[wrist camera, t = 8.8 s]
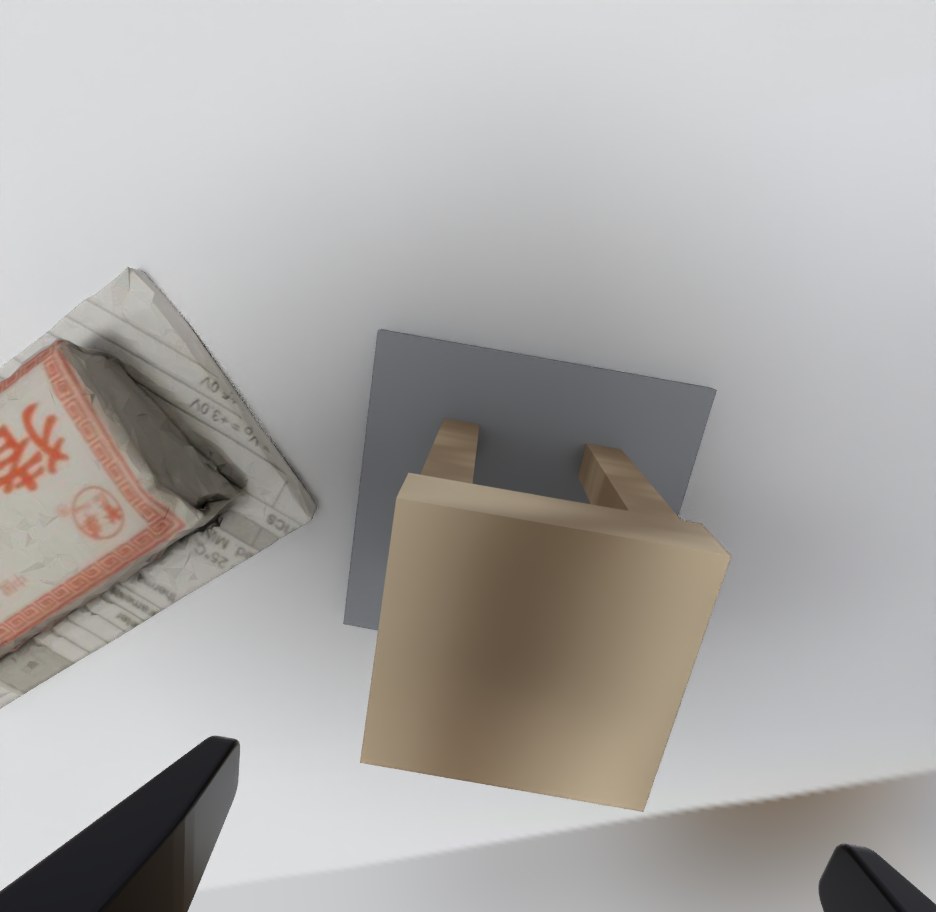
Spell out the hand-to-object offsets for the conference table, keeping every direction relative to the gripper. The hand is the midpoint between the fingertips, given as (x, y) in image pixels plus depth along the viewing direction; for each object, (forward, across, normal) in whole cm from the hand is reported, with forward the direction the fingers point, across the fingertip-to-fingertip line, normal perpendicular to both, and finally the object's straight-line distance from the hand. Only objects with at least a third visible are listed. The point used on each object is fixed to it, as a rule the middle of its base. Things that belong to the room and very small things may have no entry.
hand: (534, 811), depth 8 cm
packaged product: (+12, +17, +4) cm, 21 cm away
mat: (+12, 0, 0) cm, 12 cm away
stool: (+11, 0, 0) cm, 11 cm away
